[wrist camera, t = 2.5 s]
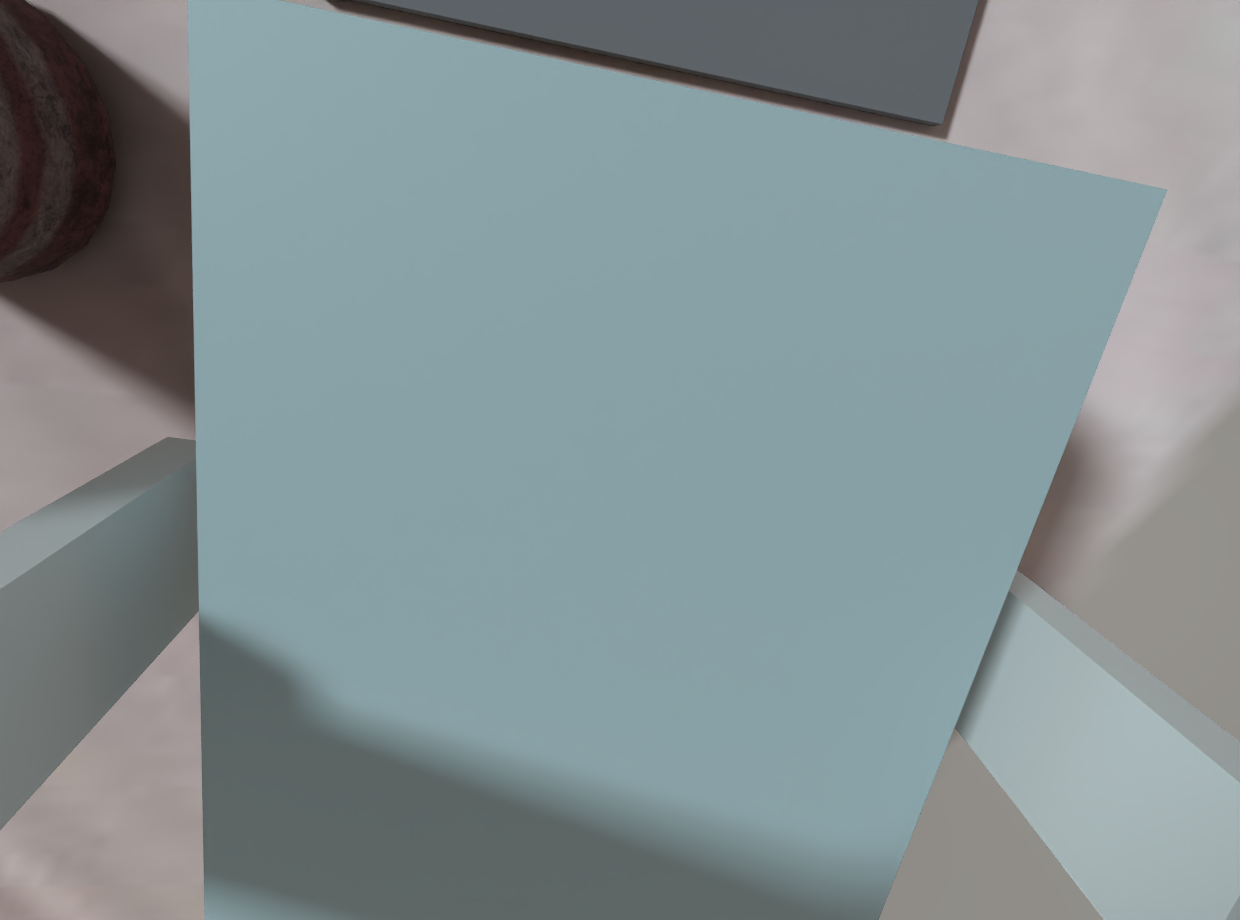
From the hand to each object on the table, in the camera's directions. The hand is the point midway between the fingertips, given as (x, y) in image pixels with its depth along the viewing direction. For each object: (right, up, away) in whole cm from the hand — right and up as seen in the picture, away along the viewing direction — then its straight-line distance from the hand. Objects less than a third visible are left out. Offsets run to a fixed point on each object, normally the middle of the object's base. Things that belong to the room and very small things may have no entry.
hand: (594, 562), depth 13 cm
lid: (0, 0, -1) cm, 1 cm away
